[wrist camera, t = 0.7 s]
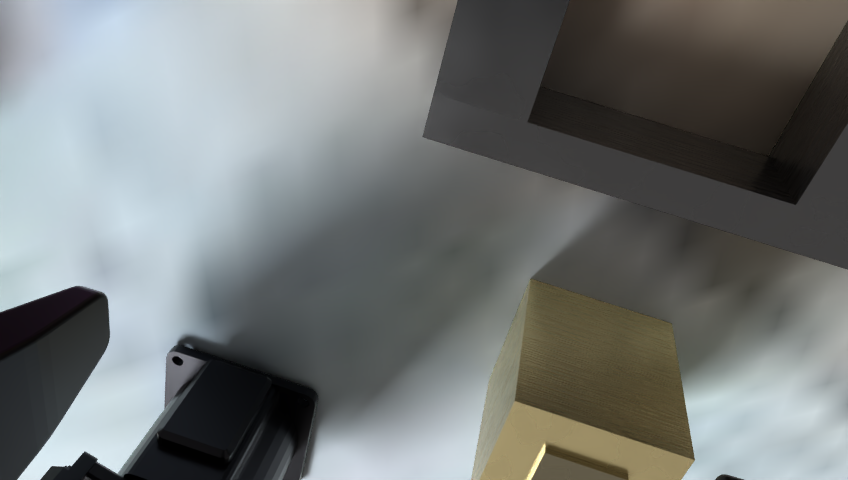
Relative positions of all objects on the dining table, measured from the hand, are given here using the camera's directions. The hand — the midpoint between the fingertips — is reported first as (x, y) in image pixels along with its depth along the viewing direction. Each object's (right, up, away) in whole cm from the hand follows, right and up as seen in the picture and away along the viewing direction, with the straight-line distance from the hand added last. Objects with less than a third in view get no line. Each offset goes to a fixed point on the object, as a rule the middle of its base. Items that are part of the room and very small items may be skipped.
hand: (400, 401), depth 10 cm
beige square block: (+6, -2, +15) cm, 16 cm away
